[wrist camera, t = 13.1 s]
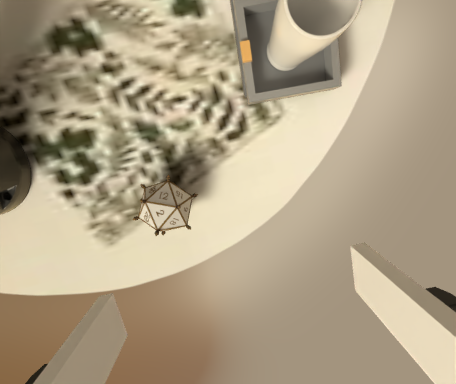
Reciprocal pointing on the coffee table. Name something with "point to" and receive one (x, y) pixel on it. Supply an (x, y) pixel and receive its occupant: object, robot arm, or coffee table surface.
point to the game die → (165, 206)
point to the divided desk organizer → (260, 65)
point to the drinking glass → (307, 29)
